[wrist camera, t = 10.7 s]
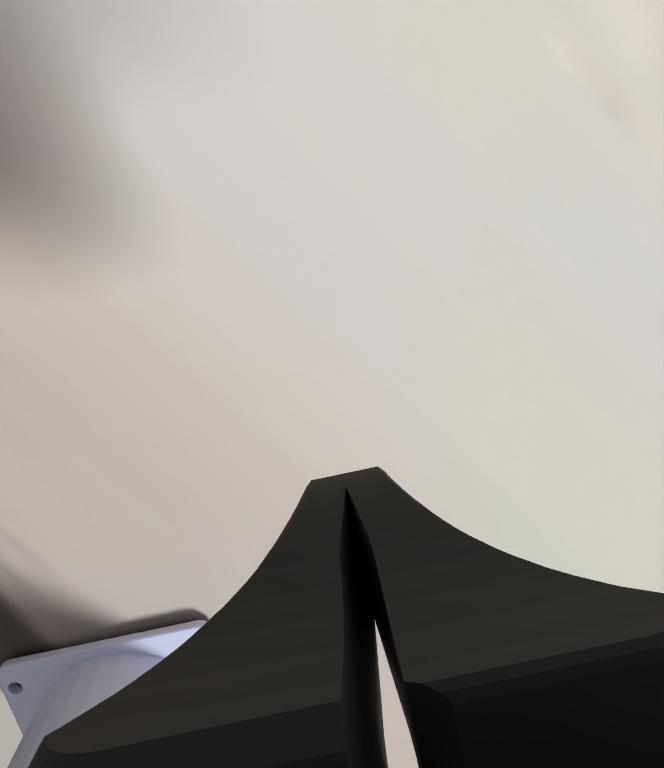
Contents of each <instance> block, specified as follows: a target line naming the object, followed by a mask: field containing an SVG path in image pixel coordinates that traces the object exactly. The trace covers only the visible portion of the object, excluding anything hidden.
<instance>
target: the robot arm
mask: <svg viewBox="0 0 664 768" xmlns="http://www.w3.org/2000/svg"><path fill="white" fill-rule="evenodd" d="M375 621H376V625H377V628H378V631H379V634H380V638H381V641H382V644H383V647H384V650H385V654H386V657H387V660H388V663H389V667H390V670H391V673H392V676H393V679H394V683H395V686H396V689H397V692H398V695H399V699H400V702H401V705H402V708H403V711H404V715H405V718H406V721H407V724H408V728H409V731H410V735H411V738H412V742H413V746H414V750H415V753H416V757H417V762H418V766H419V768H664V593H658V592H652V591H646V590H639V589H633V588H627V587H621V586H616V585H611V584H607V583H603V582H599V581H595V580H590V579H586V578H582V577H578V576H574V575H570V574H567V573H563V572H560V571H557V570H553V569H550V568H547V567H544V566H541V565H538V564H535V563H532V562H530V561H527V560H524V559H521V558H518V557H516V556H513V555H511V554H508V553H506V552H503V551H501V550H498V549H496V548H494V547H492V546H490V545H488V544H486V543H484V542H482V541H479V540H477V539H475V538H473V537H471V536H469V535H467V534H465V533H464V532H462V531H460V530H458V529H456V528H455V527H453V526H452V525H450V524H449V523H447V522H445V521H444V520H442V519H441V518H439V517H438V516H437V515H435V514H434V513H432V512H431V511H430V510H428V509H427V508H426V507H424V506H423V505H422V504H420V503H419V502H418V501H416V500H415V499H414V498H413V497H411V496H410V495H409V494H408V493H407V492H406V491H404V490H403V489H402V488H401V487H400V486H399V485H398V484H397V483H395V482H394V481H393V480H392V479H391V478H390V477H389V476H388V475H387V474H386V472H385V471H383V470H382V469H380V468H379V467H373V468H368V469H364V470H359V471H354V472H349V473H345V474H340V475H335V476H330V477H326V478H321V479H316V480H311V482H310V483H309V484H308V486H307V487H306V489H305V491H304V493H303V495H302V497H301V499H300V501H299V503H298V505H297V507H296V509H295V511H294V513H293V515H292V516H291V518H290V520H289V521H288V523H287V525H286V526H285V528H284V530H283V531H282V533H281V535H280V536H279V538H278V540H277V541H276V543H275V544H274V546H273V547H272V549H271V550H270V551H269V553H268V554H267V556H266V557H265V559H264V560H263V561H262V563H261V564H260V566H259V567H258V569H257V570H256V571H255V572H254V574H253V575H252V576H251V577H250V578H249V580H248V581H247V582H246V583H245V584H244V585H243V586H242V587H241V589H240V590H239V591H238V592H237V593H236V594H235V595H234V596H233V597H232V598H231V600H230V601H229V602H228V603H227V604H226V605H225V606H224V607H223V608H222V609H221V610H220V611H218V612H217V613H216V614H215V615H214V616H213V617H212V618H211V619H210V620H209V621H205V620H196V621H192V622H187V623H182V624H177V625H172V626H168V627H163V628H158V629H153V630H148V631H144V632H139V633H134V634H129V635H125V636H120V637H115V638H110V639H105V640H101V641H96V642H91V643H86V644H81V645H77V646H72V647H67V648H62V649H57V650H53V651H48V652H43V653H38V654H33V655H29V656H24V657H19V658H14V659H10V660H7V661H5V662H4V663H3V664H2V665H1V666H0V686H1V688H2V690H3V692H4V695H5V697H6V699H7V701H8V703H9V705H10V708H11V710H12V712H13V714H14V716H15V718H16V721H17V723H18V724H19V727H20V729H21V731H22V733H23V738H22V740H21V742H20V744H19V746H18V748H17V750H16V752H15V754H14V756H13V758H12V760H11V762H10V764H9V766H8V768H388V764H387V756H386V748H385V740H384V730H383V717H382V704H381V692H380V679H379V667H378V654H377V642H376V630H375ZM15 683H19V684H21V686H18V685H16V684H15Z"/></svg>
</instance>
